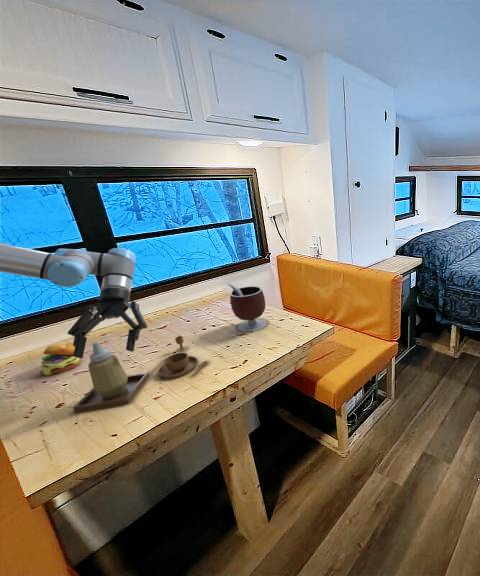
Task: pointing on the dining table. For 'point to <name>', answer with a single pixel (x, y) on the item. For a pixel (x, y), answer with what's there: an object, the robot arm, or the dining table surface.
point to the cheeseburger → (58, 359)
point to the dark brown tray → (97, 401)
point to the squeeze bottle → (106, 373)
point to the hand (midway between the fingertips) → (104, 353)
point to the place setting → (179, 363)
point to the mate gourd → (248, 307)
